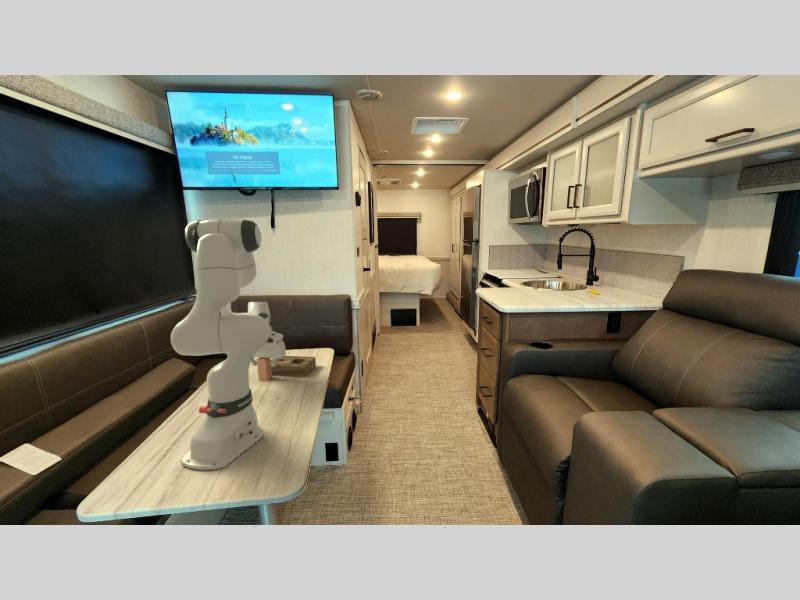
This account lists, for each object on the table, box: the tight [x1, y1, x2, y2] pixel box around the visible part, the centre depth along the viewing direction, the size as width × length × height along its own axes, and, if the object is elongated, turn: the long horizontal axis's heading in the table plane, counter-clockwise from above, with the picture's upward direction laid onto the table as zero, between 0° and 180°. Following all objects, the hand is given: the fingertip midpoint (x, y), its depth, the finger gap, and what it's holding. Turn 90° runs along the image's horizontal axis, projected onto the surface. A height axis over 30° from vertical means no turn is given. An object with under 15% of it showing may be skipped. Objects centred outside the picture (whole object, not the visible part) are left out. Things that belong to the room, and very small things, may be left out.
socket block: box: [270, 355, 317, 378], centre depth 148 cm, size 12×20×5 cm, turn 82°
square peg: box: [256, 357, 273, 382], centre depth 139 cm, size 4×4×10 cm
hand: (264, 365), depth 139 cm, fingers open, 8 cm apart
